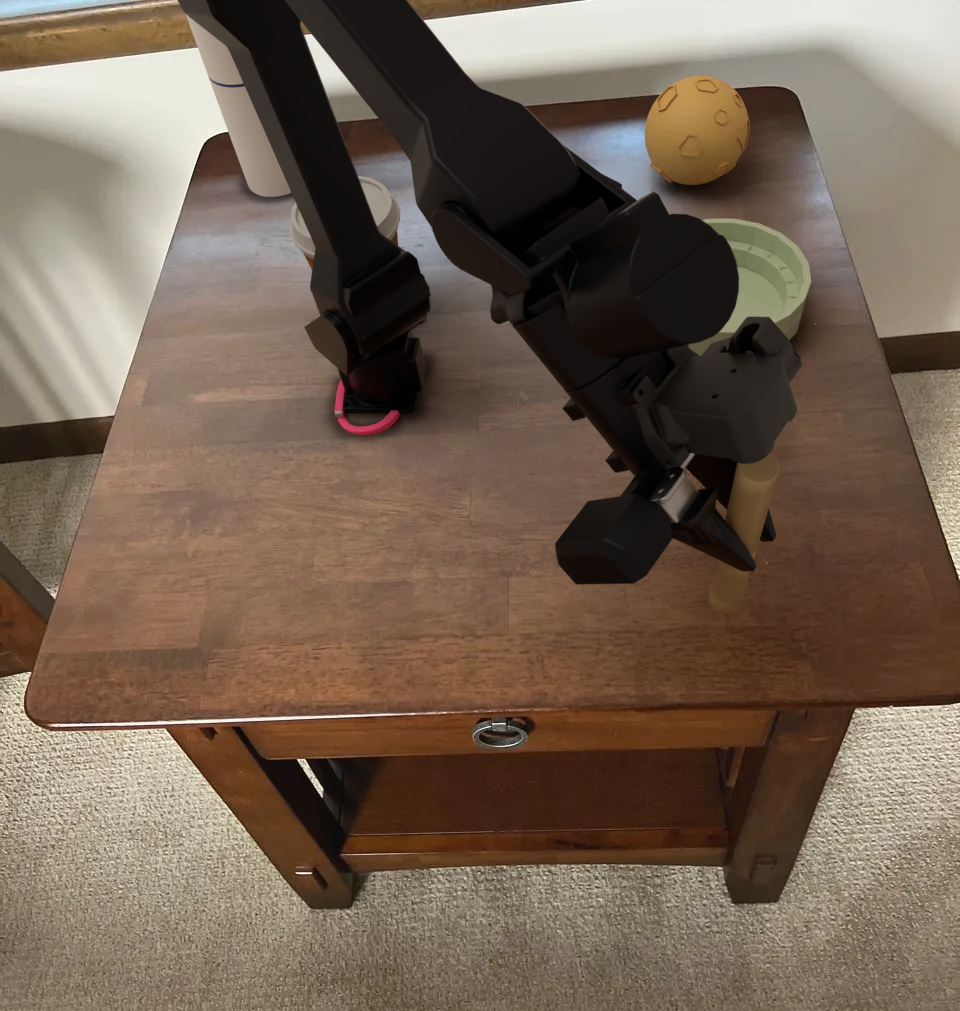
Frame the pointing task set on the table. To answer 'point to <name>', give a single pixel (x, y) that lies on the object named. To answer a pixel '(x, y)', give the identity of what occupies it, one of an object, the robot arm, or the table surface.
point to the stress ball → (696, 130)
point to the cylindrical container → (240, 117)
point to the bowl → (763, 278)
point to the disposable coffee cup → (381, 208)
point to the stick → (743, 528)
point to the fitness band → (363, 430)
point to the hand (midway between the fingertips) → (759, 554)
